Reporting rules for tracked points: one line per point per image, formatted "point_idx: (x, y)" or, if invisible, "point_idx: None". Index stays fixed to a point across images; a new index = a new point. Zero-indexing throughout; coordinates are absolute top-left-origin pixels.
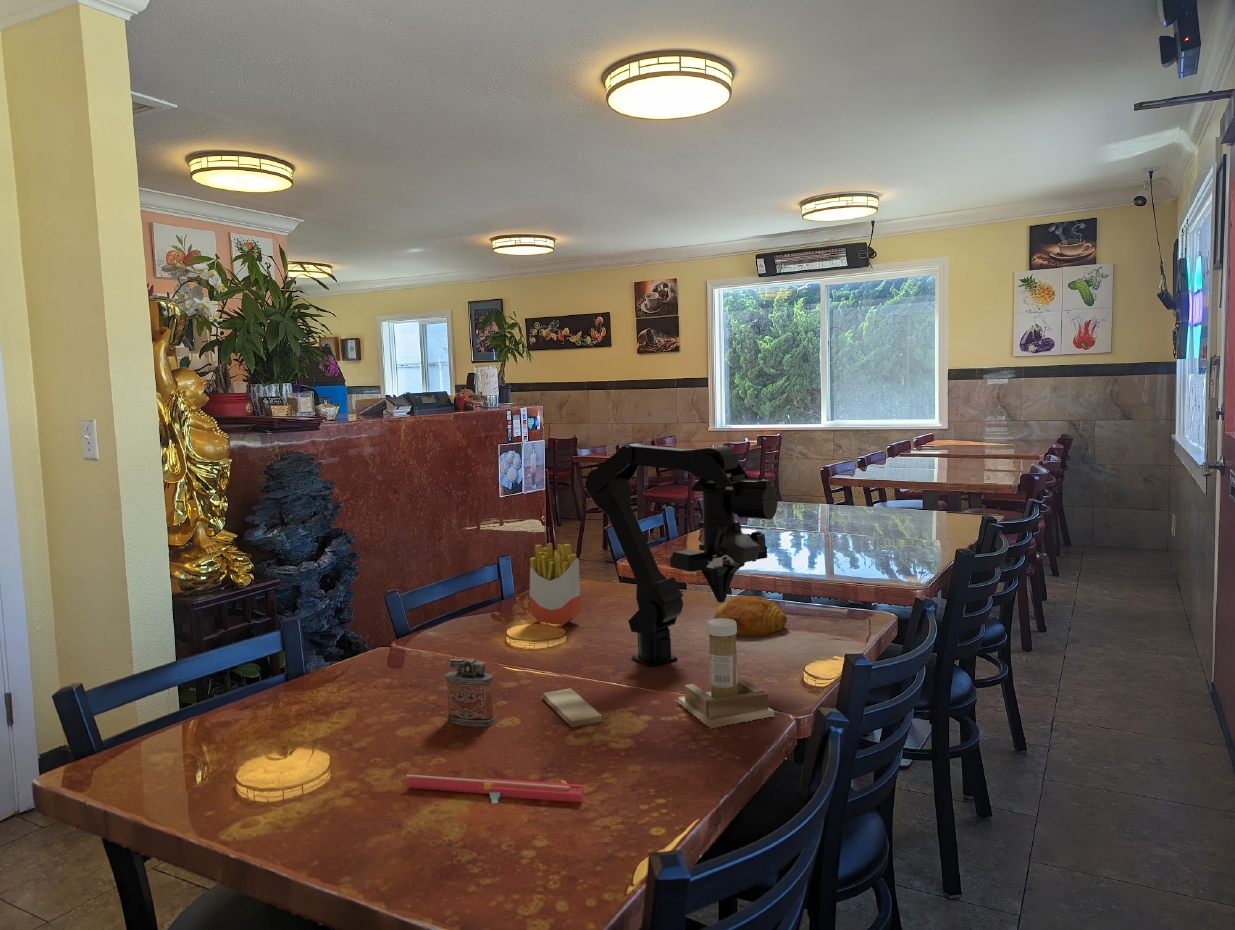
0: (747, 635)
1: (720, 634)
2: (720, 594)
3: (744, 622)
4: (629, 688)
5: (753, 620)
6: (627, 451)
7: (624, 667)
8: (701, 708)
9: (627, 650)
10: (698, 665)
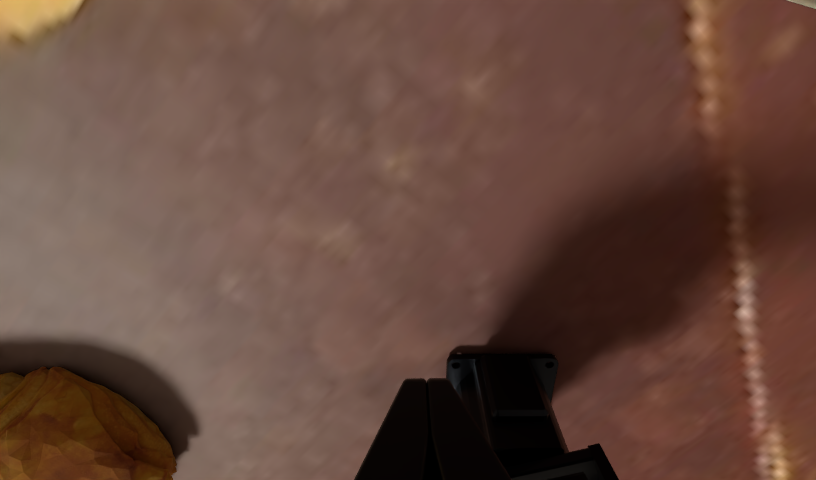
0: (114, 393)
1: None
2: (487, 442)
3: (94, 433)
4: (761, 250)
5: (54, 427)
6: None
7: (607, 390)
8: None
9: None
10: (430, 284)
